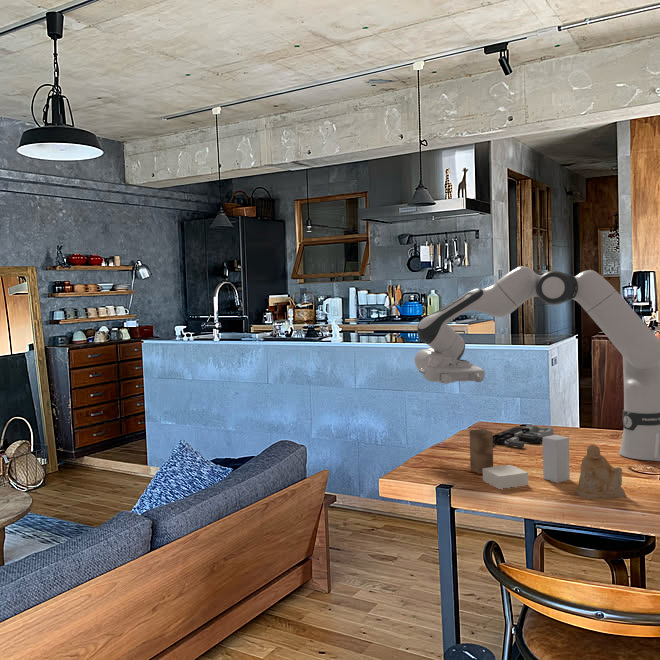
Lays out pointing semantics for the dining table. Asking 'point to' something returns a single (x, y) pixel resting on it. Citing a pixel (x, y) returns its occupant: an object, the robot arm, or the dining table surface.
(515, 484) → the cream base
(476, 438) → the walnut block
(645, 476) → the dining table surface
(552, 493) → the dining table surface
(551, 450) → the grey block
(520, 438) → the toy gun
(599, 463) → the statue
